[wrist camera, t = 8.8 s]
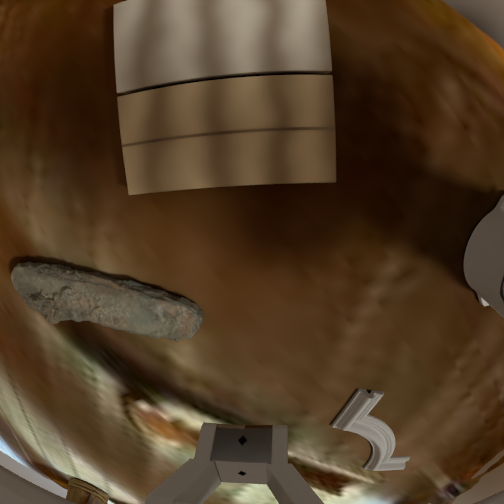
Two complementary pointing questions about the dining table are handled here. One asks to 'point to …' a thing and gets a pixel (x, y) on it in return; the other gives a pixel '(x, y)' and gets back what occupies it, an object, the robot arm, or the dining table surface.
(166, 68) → the birch plank
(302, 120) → the oak board
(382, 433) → the molding
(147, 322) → the long grey stone
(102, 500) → the tankard
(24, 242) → the dining table surface
